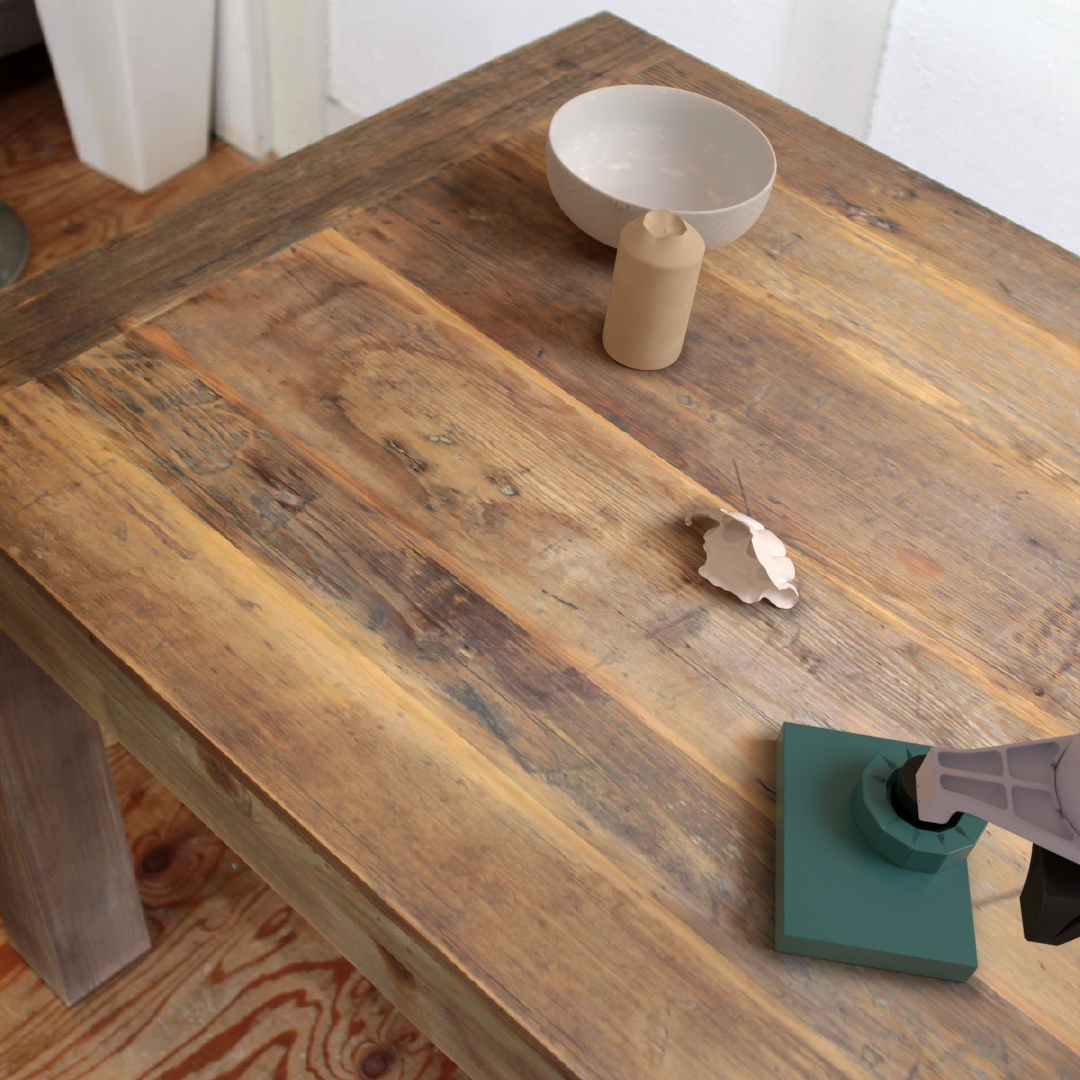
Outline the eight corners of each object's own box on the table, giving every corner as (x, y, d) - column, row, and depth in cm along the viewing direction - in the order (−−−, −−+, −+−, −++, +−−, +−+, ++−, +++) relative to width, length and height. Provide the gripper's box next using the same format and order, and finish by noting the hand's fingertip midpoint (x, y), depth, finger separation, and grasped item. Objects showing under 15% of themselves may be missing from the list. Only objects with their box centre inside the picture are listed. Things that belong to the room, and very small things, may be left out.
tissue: (753, 510, 82) (767, 465, 79) (804, 609, 77) (821, 565, 74) (668, 521, 80) (680, 476, 78) (715, 623, 75) (729, 579, 72)
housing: (977, 985, 62) (1005, 951, 59) (774, 951, 62) (793, 915, 60) (955, 769, 70) (978, 731, 68) (776, 739, 70) (792, 700, 68)
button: (958, 835, 64) (970, 816, 63) (891, 824, 64) (902, 805, 63) (952, 779, 66) (964, 759, 65) (888, 768, 66) (898, 748, 65)
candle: (694, 364, 91) (724, 240, 83) (621, 377, 89) (645, 252, 82) (660, 315, 94) (686, 192, 87) (589, 327, 92) (609, 202, 85)
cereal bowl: (491, 214, 100) (498, 130, 95) (630, 141, 110) (644, 60, 104) (666, 323, 94) (684, 238, 88) (798, 235, 103) (822, 154, 98)
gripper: (1377, 671, 47) (1196, 861, 57) (964, 604, 47) (858, 806, 57) (1443, 850, 42) (1233, 1023, 52) (984, 775, 42) (864, 962, 52)
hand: (1038, 920), depth 54 cm, fingers closed
